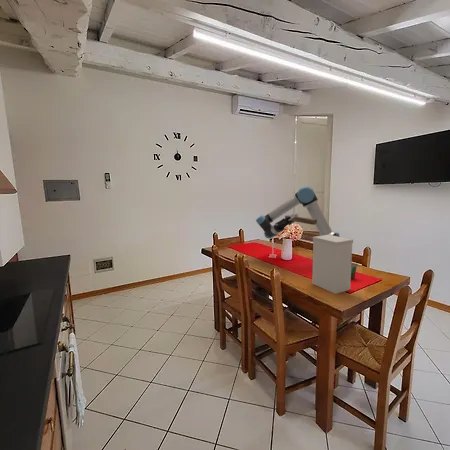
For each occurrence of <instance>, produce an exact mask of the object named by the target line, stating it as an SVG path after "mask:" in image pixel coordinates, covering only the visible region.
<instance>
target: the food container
mask: <svg viewBox="0 0 450 450" xmlns="http://www.w3.org/2000/svg"><path fill="white" fill-rule="evenodd" d="M357 268H358V264H357V263H351V280H352V279H355V278H356V272H357Z"/></svg>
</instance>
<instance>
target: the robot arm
mask: <svg viewBox="0 0 450 450" xmlns="http://www.w3.org/2000/svg"><path fill="white" fill-rule="evenodd" d="M318 201H319V199H318V197H317V195H316V193H315V191H314V189H313V188H312V186H307V185H306V186H305V185H304V186H301V188H299V189H298V190H297V192H296V193H294V195H293V196H292V197H290V198H289V199H287V200H286V201H285V202H283V203H282V204H281V205H280V204H279V206H277V207H276V208H274V209H273V210H272V211H270V212H269V213H267V214H266V215H263V214H261V215H260V216H259V217H257V218H256V219H255V221H256V223H257V225H259V227H260V228H261V229H262V230H263V234H264V237H265V238H266V239H268V240H269V239H272V238H274V237H276V236H278V235H279V233H281V232H283V231H284V230H285V228H286V227H287V226H291V225H292V224H293V223H295V222H294V221H290V220H291V219H293V218H294V217H300V216H299V213H298V212H296V214H294V213H291V214H290V215H289V217H287V218H285V217H284V218H282V219H281V220H279V221H277V222H276V223H274V224H273V225H272V224H271V223H273V222H274V221H276V220H277V219H278V218H280V217H282V216H283V215H284V214H287V212H289V211H291V210H292V209H294V208H295V207H297V206H299V205H302V207H303V208H306V210H307V212H308V214H309V215H310V219H316V220H317V224H315V227H316V229H317V231H318V233H319V236H323V235H333V236H338V237H341V235H340V233H339V232H336V231H334V230H332V228H331V226H330V224H329V223H328V222H329V221H327V219H326V217H325V214H324V212H323V211H322V209H321V208H320V205H319V204H318Z"/></svg>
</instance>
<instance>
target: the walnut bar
mask: <svg viewBox="0 0 450 450" xmlns="http://www.w3.org/2000/svg"><path fill="white" fill-rule="evenodd" d="M289 216H290V215H284V218H287V217H289ZM290 221H294V222H293V223H295V222H296V223H300V224H301V223H302V224H308V225H315V224H317V220H316V219H312V218H308V217H302V216H301V217H300V216H299V217H294V218H293V219H291V220H290ZM315 226H316V225H315Z"/></svg>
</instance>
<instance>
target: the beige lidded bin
mask: <svg viewBox="0 0 450 450" xmlns="http://www.w3.org/2000/svg"><path fill="white" fill-rule="evenodd" d="M312 243H313V244H312V245H313V246H312V280H311V281H312V285H315V286H317V287H318V288H319V287H320V288H322V289H324V290H325V291H326V290H327V291H328V292H330V293H333V294H335V295H336V294H340V293H344V292H347V291H351V282H352V281H351V280H352V279H351V264H352V259H353V258H352V257H353V243H354V239H353V238H352V239H351V238H346V237H342V236H340V237H338V236H333V235H323V236H321V235H317V236H312Z"/></svg>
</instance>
